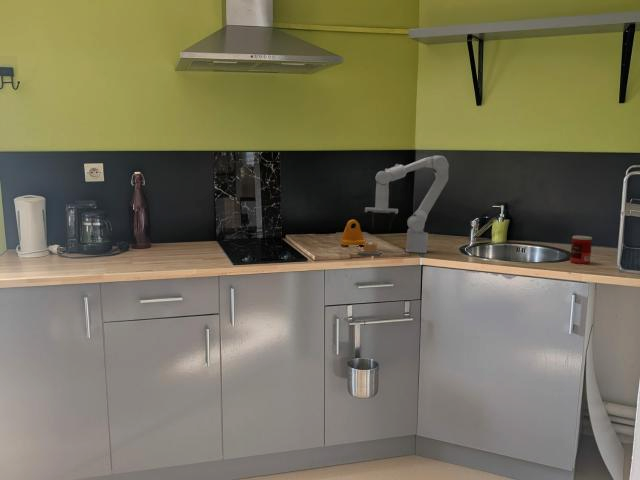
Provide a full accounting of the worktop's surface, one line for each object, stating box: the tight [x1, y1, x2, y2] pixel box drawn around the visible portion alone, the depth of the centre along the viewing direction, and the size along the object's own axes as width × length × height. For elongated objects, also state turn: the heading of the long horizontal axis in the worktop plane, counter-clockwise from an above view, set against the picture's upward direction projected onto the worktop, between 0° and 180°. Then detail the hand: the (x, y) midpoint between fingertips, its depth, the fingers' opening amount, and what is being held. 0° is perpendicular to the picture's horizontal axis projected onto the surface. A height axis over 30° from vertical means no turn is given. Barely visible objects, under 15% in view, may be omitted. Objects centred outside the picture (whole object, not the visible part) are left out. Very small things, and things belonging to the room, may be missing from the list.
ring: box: [363, 242, 378, 253], centre depth 267 cm, size 5×5×4 cm
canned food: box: [569, 235, 593, 265], centre depth 257 cm, size 8×8×11 cm
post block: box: [357, 241, 382, 257], centre depth 267 cm, size 9×9×5 cm
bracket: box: [340, 219, 367, 246], centre depth 287 cm, size 11×7×12 cm, turn 95°
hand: (380, 228), depth 274 cm, fingers open, 7 cm apart
